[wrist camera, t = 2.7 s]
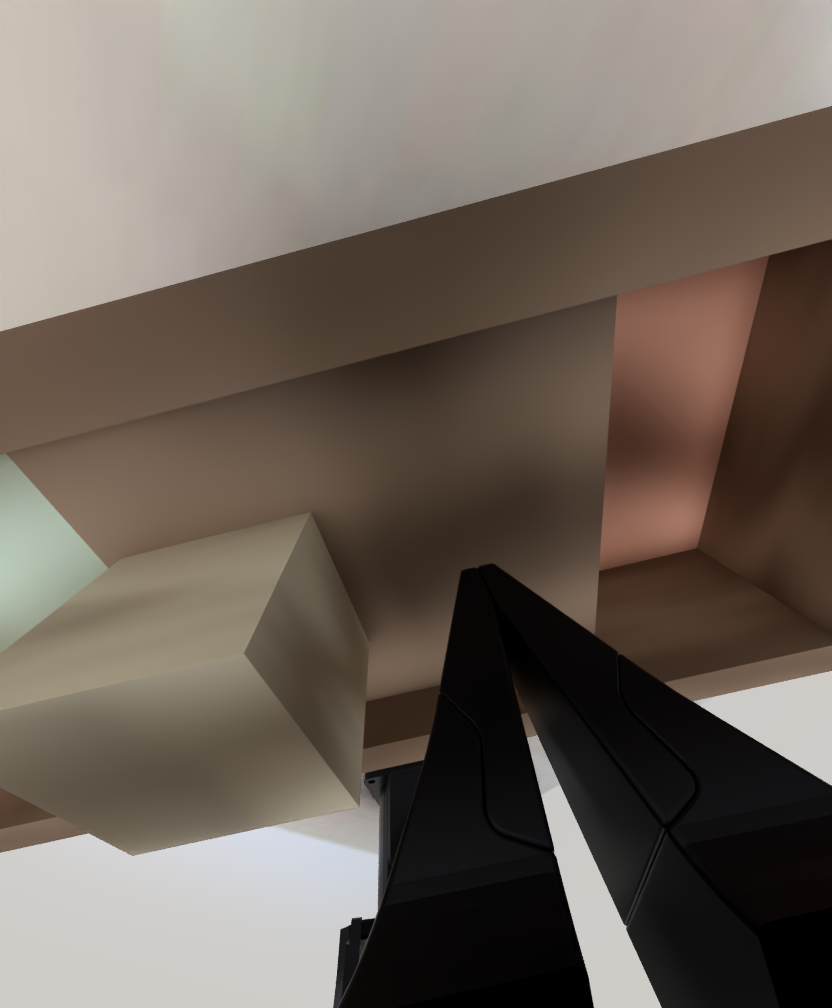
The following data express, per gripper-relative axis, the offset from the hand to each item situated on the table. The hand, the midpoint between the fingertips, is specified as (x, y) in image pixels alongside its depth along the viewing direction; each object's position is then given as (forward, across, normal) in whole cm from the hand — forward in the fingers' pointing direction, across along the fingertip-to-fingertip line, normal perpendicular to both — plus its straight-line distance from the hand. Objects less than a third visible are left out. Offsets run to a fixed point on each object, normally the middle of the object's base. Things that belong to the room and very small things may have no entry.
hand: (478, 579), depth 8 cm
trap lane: (+5, +6, 0) cm, 8 cm away
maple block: (+1, +6, 0) cm, 6 cm away
